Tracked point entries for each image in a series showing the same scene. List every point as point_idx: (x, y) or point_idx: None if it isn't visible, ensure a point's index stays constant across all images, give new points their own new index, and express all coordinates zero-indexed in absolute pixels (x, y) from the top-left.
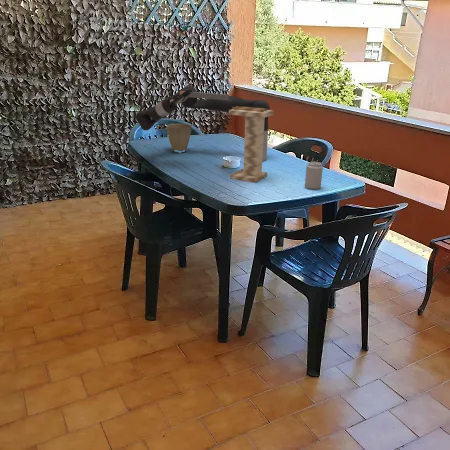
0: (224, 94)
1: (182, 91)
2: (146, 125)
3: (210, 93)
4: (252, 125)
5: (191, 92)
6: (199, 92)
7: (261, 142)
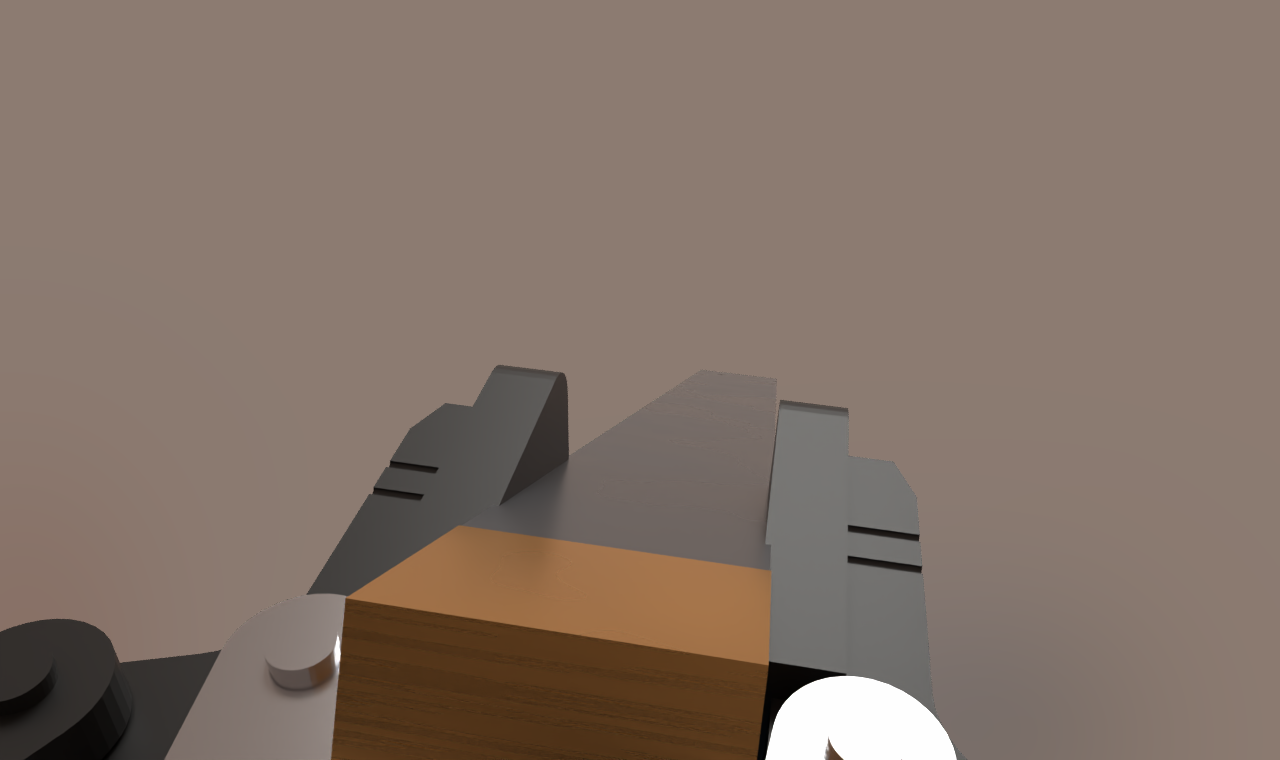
0: (726, 376)
1: (654, 592)
2: None
3: (720, 396)
4: None
5: (769, 478)
6: (646, 423)
7: None
